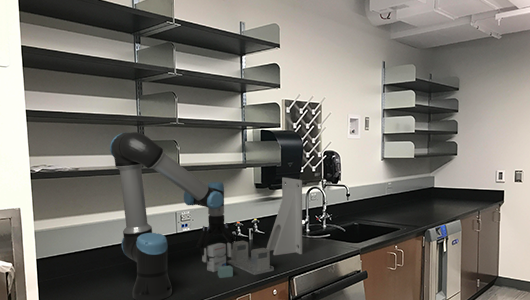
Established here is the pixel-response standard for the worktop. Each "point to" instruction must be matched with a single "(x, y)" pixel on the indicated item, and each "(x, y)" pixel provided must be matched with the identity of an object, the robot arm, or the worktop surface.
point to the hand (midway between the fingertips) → (217, 259)
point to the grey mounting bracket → (288, 220)
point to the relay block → (225, 271)
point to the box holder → (255, 263)
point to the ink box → (216, 256)
